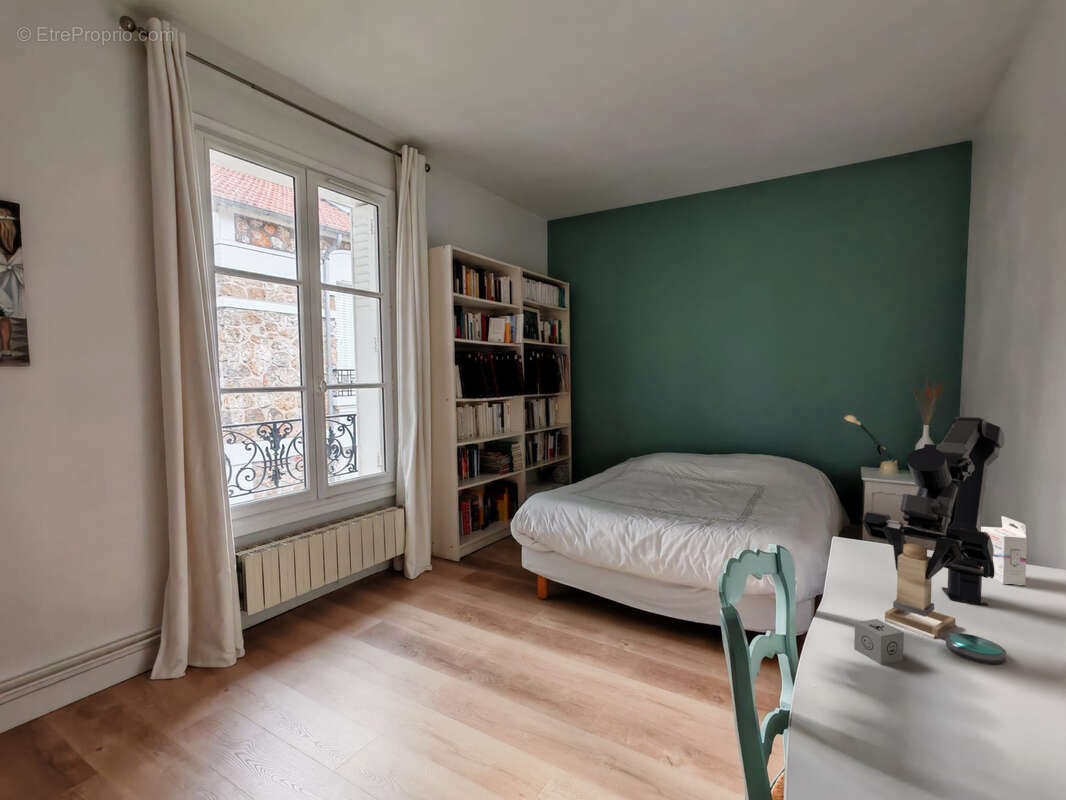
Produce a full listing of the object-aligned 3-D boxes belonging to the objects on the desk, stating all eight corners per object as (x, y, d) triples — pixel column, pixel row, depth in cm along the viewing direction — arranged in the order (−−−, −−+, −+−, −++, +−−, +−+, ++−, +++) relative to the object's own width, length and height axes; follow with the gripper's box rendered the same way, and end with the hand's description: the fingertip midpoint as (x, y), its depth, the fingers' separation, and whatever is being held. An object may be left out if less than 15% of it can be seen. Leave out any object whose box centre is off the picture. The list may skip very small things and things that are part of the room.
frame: (905, 608, 105) (905, 601, 105) (956, 625, 98) (956, 617, 97) (883, 620, 100) (883, 612, 99) (935, 639, 92) (935, 630, 92)
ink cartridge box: (977, 571, 126) (979, 514, 125) (1000, 573, 125) (1002, 515, 124) (1002, 584, 118) (1004, 523, 117) (1026, 586, 117) (1029, 524, 116)
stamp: (902, 599, 93) (903, 540, 93) (934, 609, 90) (935, 547, 89) (893, 607, 91) (894, 546, 90) (925, 616, 87) (927, 553, 86)
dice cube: (854, 649, 89) (854, 622, 89) (876, 645, 90) (876, 618, 90) (880, 665, 84) (881, 636, 84) (903, 660, 85) (903, 632, 85)
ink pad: (939, 636, 93) (940, 628, 93) (995, 646, 90) (995, 638, 90) (953, 657, 86) (953, 648, 86) (1014, 669, 82) (1015, 660, 82)
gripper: (866, 470, 99) (842, 536, 93) (991, 486, 84) (972, 565, 78) (880, 503, 104) (858, 567, 98) (1001, 524, 89) (983, 601, 83)
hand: (912, 574), depth 89 cm, fingers closed on stamp, 4 cm apart
